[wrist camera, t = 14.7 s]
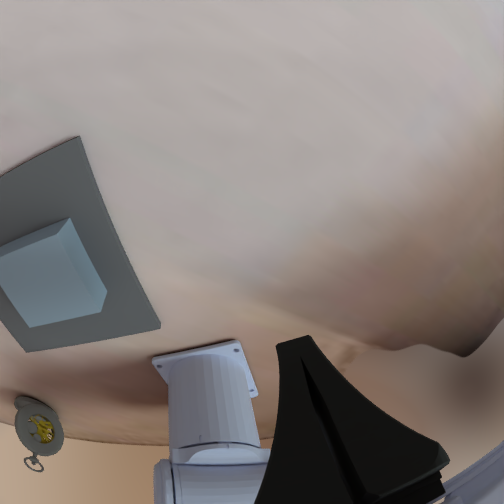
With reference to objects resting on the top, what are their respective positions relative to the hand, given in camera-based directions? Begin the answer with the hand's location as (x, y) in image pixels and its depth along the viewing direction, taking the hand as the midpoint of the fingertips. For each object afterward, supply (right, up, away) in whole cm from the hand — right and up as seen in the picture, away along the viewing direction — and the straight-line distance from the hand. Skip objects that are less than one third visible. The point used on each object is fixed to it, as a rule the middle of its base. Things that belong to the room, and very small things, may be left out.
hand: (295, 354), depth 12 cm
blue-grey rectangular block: (-19, +1, +5) cm, 20 cm away
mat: (-18, +3, +7) cm, 19 cm away
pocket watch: (-29, -16, +16) cm, 36 cm away
